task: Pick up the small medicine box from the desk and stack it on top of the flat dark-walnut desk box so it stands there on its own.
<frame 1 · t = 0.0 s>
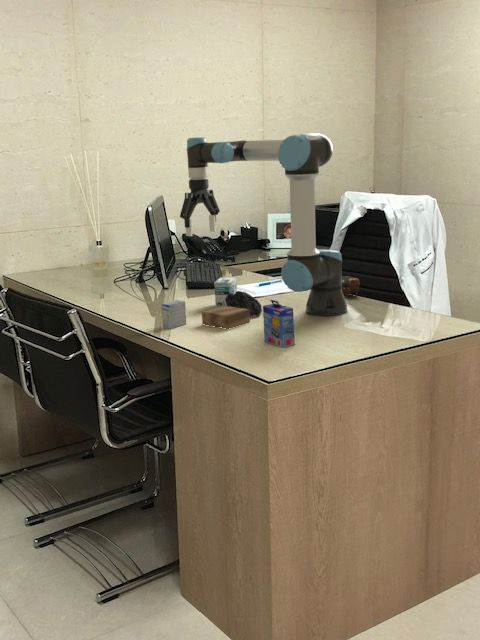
hand: (201, 233, 311), 28 cm above the table, tool pointing down, fingers open, 13 cm apart
medicine box: (174, 326, 284), on the table
light bulb box: (226, 307, 311), on the table
decorative turtle: (346, 295, 323), on the table
black rock: (244, 315, 296), on the table
walnut desk box: (226, 324, 284), on the table
ink cartridge box: (279, 344, 256), on the table
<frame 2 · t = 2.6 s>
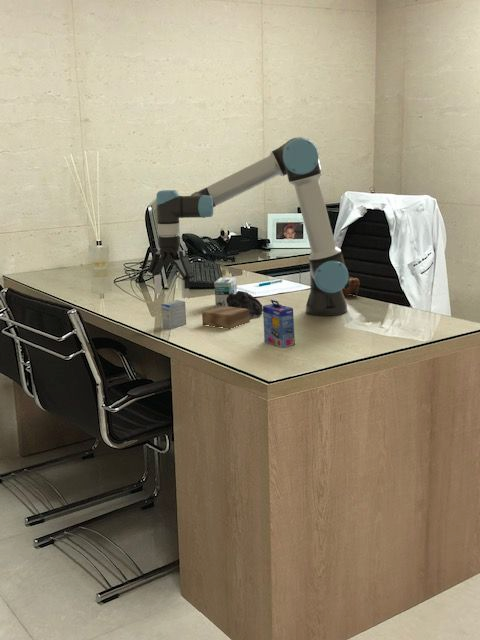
hand: (171, 295, 281), 11 cm above the table, tool pointing down, fingers open, 13 cm apart
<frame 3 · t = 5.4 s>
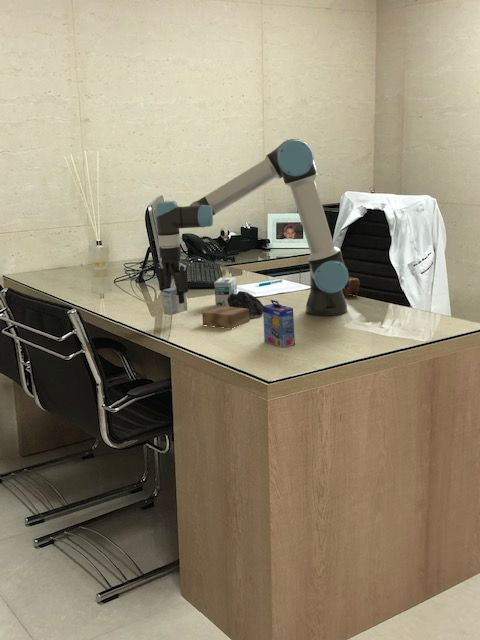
hand: (175, 311, 283), 5 cm above the table, tool pointing down, fingers closed on medicine box, 4 cm apart
medicine box: (175, 312, 283), point 5 cm above the table, touching gripper
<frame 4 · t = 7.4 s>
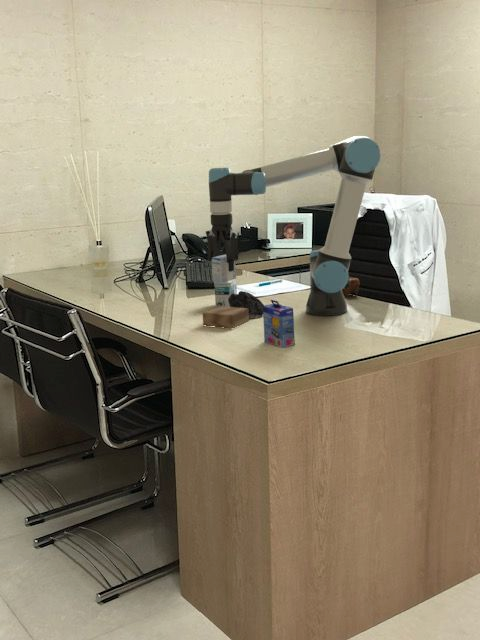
hand: (224, 279, 280), 16 cm above the table, tool pointing down, fingers closed on medicine box, 4 cm apart
medicine box: (224, 281, 280), point 15 cm above the table, touching gripper
when the fingers open (6 cm above the table, at t = 9.8 s): medicine box stays where it is, point 5 cm above the table.
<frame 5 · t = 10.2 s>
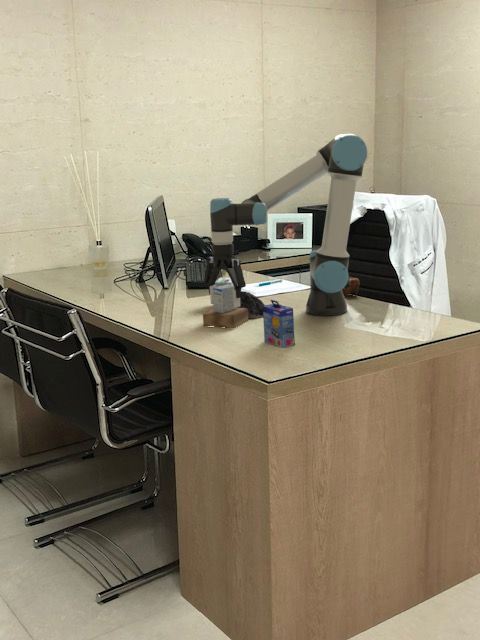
hand: (225, 305, 282), 7 cm above the table, tool pointing down, fingers open, 10 cm apart
medicine box: (225, 311, 283), point 5 cm above the table
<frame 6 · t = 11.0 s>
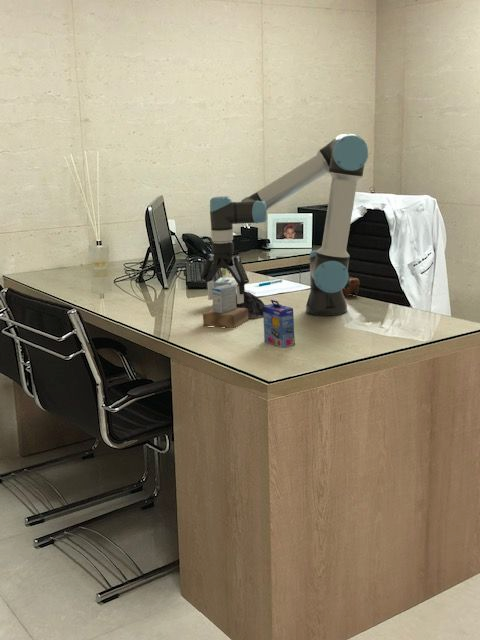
hand: (225, 301, 282), 8 cm above the table, tool pointing down, fingers open, 13 cm apart
medicine box: (224, 311, 283), point 5 cm above the table, touching walnut desk box
walnut desk box: (226, 324, 284), on the table, touching medicine box
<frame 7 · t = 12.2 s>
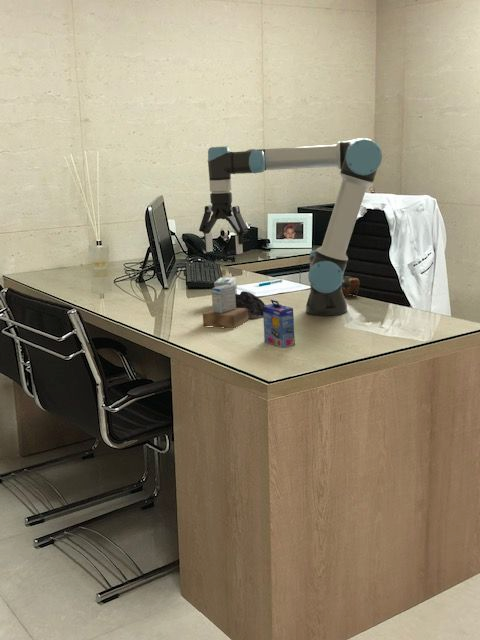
hand: (224, 252, 282), 25 cm above the table, tool pointing down, fingers open, 13 cm apart
medicine box: (224, 311, 283), point 5 cm above the table
walnut desk box: (226, 325, 284), on the table
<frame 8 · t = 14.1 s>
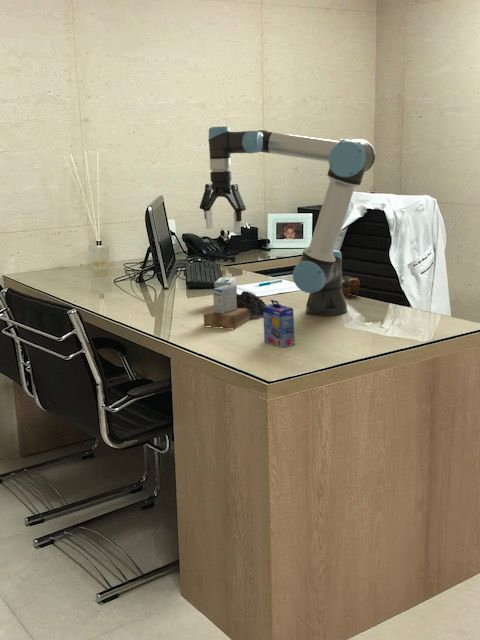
hand: (223, 229, 291), 32 cm above the table, tool pointing down, fingers open, 13 cm apart
medicine box: (225, 311, 282), point 4 cm above the table, touching walnut desk box
walnut desk box: (227, 325, 283), on the table, touching medicine box
at the end: medicine box inside the target area on the walnut desk box (0.3 cm from its centre), point 5.0 cm above the walnut desk box's base; medicine box tilted 0°; the gripper is holding nothing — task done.
